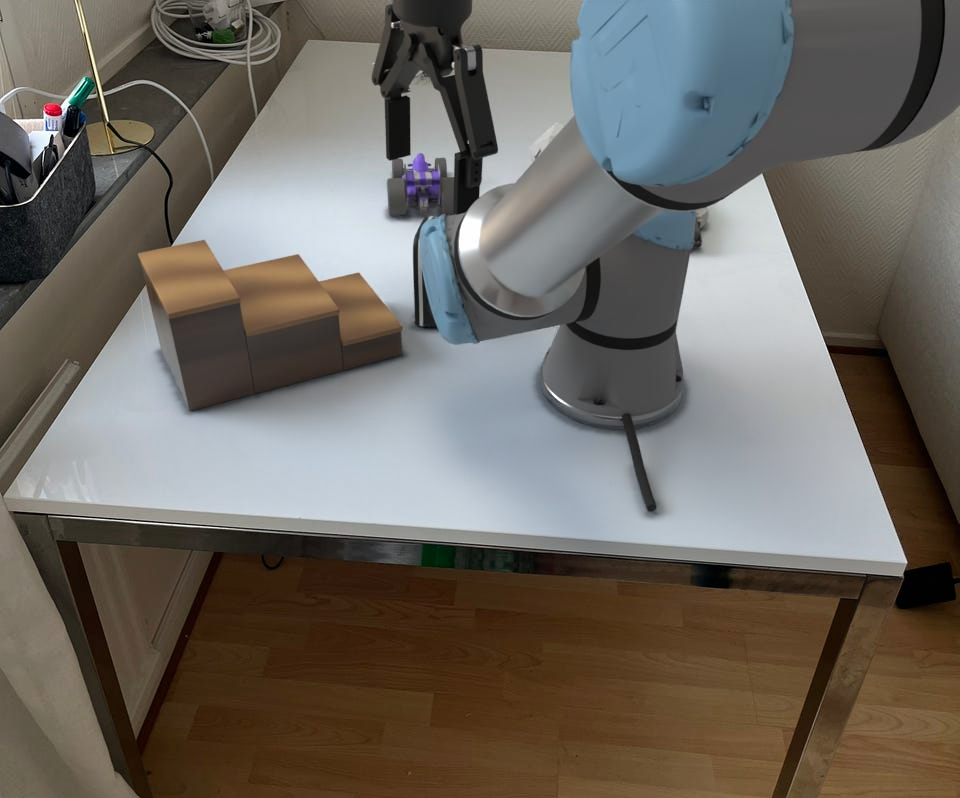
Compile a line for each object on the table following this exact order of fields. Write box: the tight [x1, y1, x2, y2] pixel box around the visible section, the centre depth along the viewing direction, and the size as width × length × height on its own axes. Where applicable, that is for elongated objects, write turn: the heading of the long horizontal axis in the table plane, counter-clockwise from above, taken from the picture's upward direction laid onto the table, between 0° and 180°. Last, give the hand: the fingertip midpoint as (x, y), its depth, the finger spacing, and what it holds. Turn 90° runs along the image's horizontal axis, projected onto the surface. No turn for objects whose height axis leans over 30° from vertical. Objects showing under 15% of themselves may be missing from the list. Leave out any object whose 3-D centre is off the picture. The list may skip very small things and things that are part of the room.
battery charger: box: [412, 215, 437, 328], centre depth 113 cm, size 7×4×11 cm, turn 169°
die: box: [527, 121, 566, 163], centre depth 140 cm, size 8×9×10 cm
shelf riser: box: [137, 239, 404, 412], centre depth 106 cm, size 13×24×12 cm, turn 117°
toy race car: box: [386, 152, 455, 216], centre depth 137 cm, size 10×15×6 cm, turn 6°
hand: (430, 183), depth 106 cm, fingers open, 13 cm apart
